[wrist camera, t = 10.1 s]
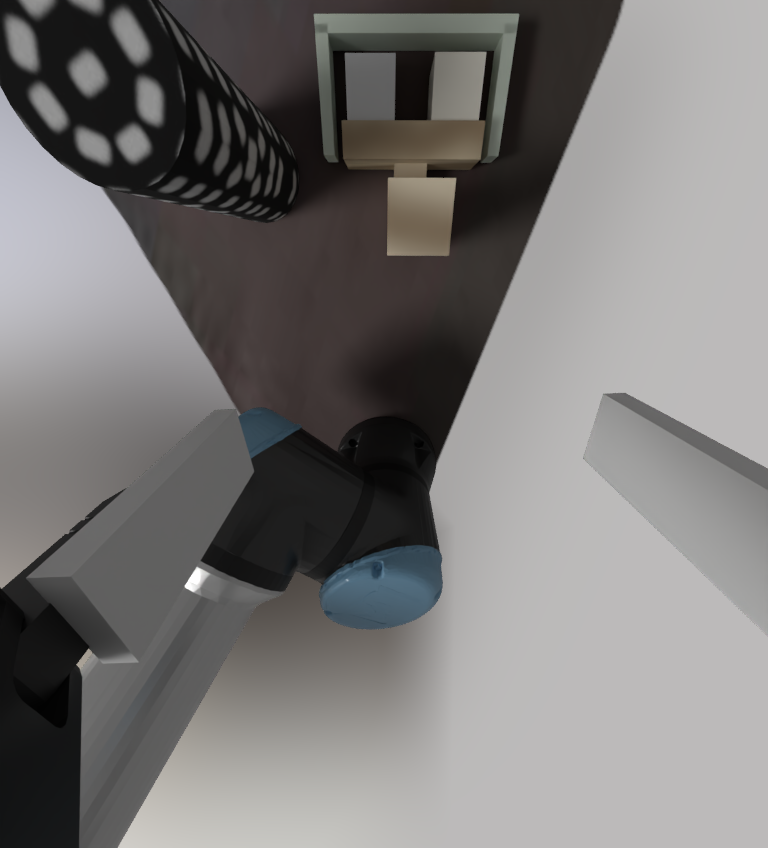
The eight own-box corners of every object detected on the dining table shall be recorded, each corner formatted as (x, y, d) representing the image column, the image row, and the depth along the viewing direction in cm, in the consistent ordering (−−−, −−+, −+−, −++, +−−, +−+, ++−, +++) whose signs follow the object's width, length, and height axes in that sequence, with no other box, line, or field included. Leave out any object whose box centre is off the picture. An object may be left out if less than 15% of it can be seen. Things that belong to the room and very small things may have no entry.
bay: (490, 162, 30) (498, 156, 28) (328, 162, 30) (323, 155, 28) (508, 33, 26) (519, 13, 24) (320, 33, 26) (313, 13, 24)
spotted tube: (267, 96, 28) (70, -153, 11) (314, 198, 32) (224, 135, 14) (197, 147, 30) (-69, 3, 13) (249, 237, 34) (99, 223, 16)
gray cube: (393, 137, 29) (394, 122, 26) (352, 137, 29) (347, 122, 26) (394, 77, 27) (395, 53, 24) (350, 77, 28) (344, 52, 24)
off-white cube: (468, 136, 29) (478, 121, 26) (426, 136, 29) (431, 121, 26) (474, 77, 27) (486, 51, 24) (429, 77, 27) (435, 51, 24)
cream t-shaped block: (460, 253, 34) (510, 256, 20) (351, 253, 34) (325, 255, 20) (473, 136, 29) (552, 30, 15) (347, 135, 29) (308, 30, 15)
